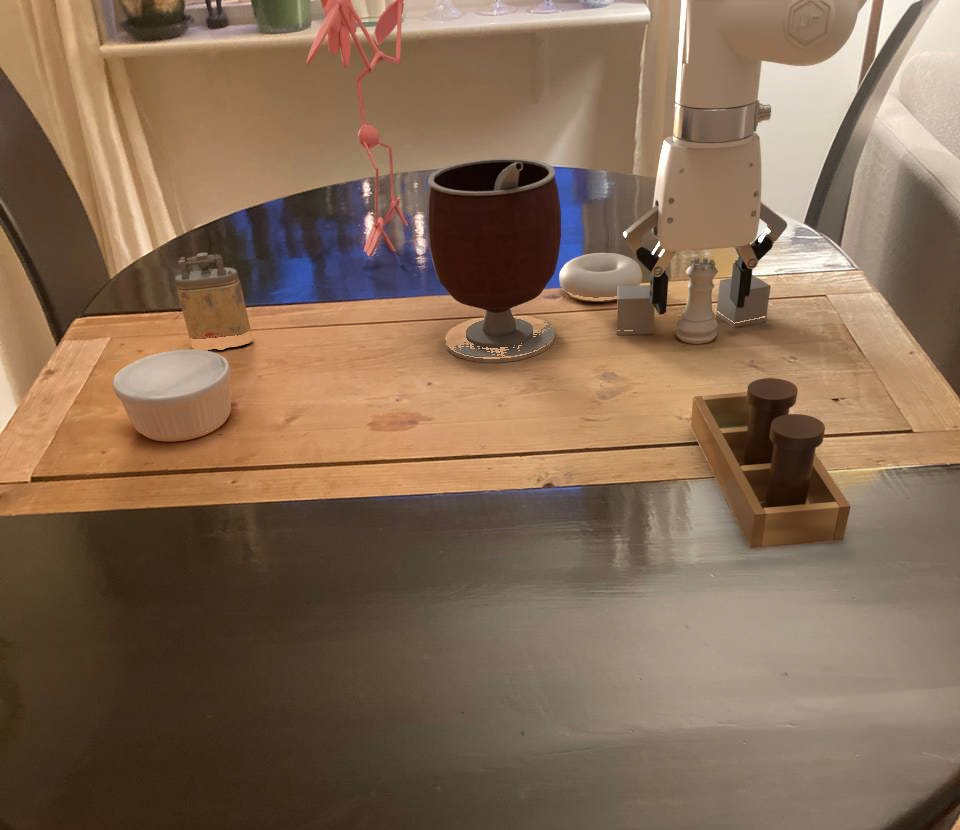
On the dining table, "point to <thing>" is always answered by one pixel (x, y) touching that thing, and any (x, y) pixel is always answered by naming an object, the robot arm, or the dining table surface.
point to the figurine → (338, 27)
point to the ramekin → (176, 394)
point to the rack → (763, 481)
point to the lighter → (211, 298)
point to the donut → (599, 275)
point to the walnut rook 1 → (765, 416)
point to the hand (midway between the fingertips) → (698, 305)
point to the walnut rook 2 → (792, 458)
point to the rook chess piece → (699, 305)
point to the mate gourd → (495, 247)
